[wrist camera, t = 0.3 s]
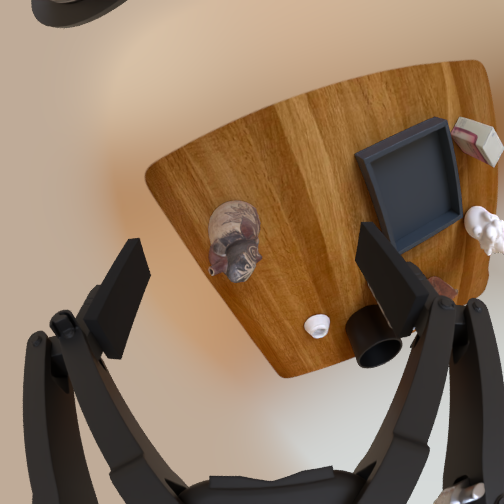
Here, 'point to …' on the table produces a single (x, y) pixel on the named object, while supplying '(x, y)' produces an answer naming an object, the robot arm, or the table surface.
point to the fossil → (442, 287)
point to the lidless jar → (317, 325)
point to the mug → (372, 337)
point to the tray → (413, 183)
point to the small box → (477, 140)
